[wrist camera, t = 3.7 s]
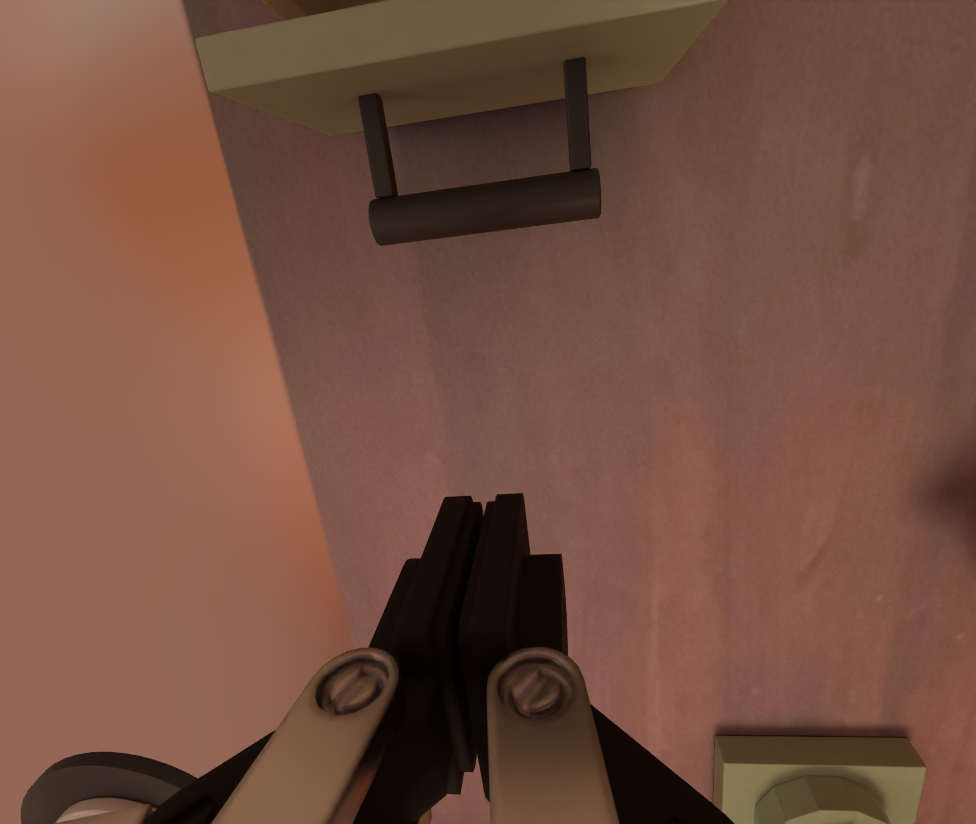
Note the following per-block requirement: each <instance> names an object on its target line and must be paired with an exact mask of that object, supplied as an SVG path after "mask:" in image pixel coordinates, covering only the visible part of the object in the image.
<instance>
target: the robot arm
mask: <svg viewBox="0 0 976 824" xmlns="http://www.w3.org/2000/svg"><path fill="white" fill-rule="evenodd" d="M477 755H478V760H479V766H480V771H481V777H482V782H483V788H484V793H485V797H486V799H487V800H488V801H489V802H490V819H491V824H734V823H733V822H732V821H731V819H730V818H729V817H728V816H727V815H726V814H724V813H723V812H722V811H721V810H720V809H718V808H717V807H716V806H715V805H713V804H712V803H711V802H710V801H709V800H707V799H706V798H705V797H704V796H702V795H701V794H700V793H699V792H697V791H696V790H695V789H694V788H693V787H691V786H690V785H689V784H688V783H686V782H685V781H684V780H683V779H682V778H680V777H679V776H678V775H677V774H675V773H674V772H673V771H672V770H671V769H669V768H668V767H667V766H666V765H664V764H663V763H662V762H661V761H660V760H658V759H657V758H656V757H655V756H653V755H652V754H651V753H650V752H649V751H647V750H646V749H645V748H644V747H642V746H641V745H640V744H639V743H638V742H636V741H635V740H634V739H633V738H631V737H630V736H629V735H628V734H627V733H625V732H624V731H623V730H622V729H620V728H619V727H618V726H617V725H616V724H614V723H613V722H612V721H611V720H609V719H608V718H607V717H606V716H605V715H603V714H602V713H601V712H600V711H598V710H597V709H596V708H595V707H593V706H592V705H591V704H590V701H589V697H588V693H587V689H586V685H585V681H584V678H583V675H582V673H581V671H580V669H579V667H578V665H577V664H576V663H575V662H574V661H573V660H572V659H571V658H570V657H569V656H568V639H567V613H566V597H565V584H564V573H563V562H562V555H561V554H541V555H530V547H529V538H528V529H527V520H526V512H525V503H524V496H523V493H517V494H498V495H497V496H496V500H495V501H491V502H487V505H486V509H485V513H484V516H483V509H482V505H481V502H473V500H472V497H471V496H456V497H445V498H444V500H443V503H442V505H441V508H440V510H439V513H438V515H437V518H436V521H435V523H434V526H433V528H432V531H431V534H430V536H429V539H428V541H427V544H426V546H425V549H424V552H423V554H422V557H421V558H414V559H408V560H407V561H406V562H405V564H404V566H403V568H402V570H401V573H400V575H399V577H398V580H397V582H396V584H395V587H394V589H393V591H392V594H391V596H390V598H389V601H388V603H387V605H386V608H385V610H384V612H383V615H382V617H381V619H380V622H379V624H378V626H377V629H376V631H375V633H374V636H373V638H372V640H371V643H370V645H369V647H368V648H358V649H354V650H351V651H347V652H345V653H343V654H340V655H338V656H336V657H334V658H333V659H331V660H330V661H329V662H327V663H326V664H325V665H323V666H322V667H321V668H320V669H319V670H318V672H317V673H316V674H315V675H314V676H313V678H312V679H311V680H310V682H309V683H308V684H307V686H306V687H305V689H304V690H303V692H302V693H301V695H300V696H299V698H298V699H297V700H296V702H295V703H294V705H293V706H292V708H291V709H290V710H289V712H288V713H287V715H286V716H285V718H284V719H283V721H282V722H281V723H280V725H279V726H278V728H277V729H276V730H275V731H273V732H271V733H270V734H268V735H267V736H265V737H264V738H262V739H260V740H259V741H257V742H256V743H254V744H252V745H251V746H249V747H248V748H246V749H244V750H243V751H241V752H240V753H238V754H237V755H235V756H233V757H232V758H230V759H229V760H227V761H226V762H224V763H222V764H221V765H219V766H218V767H216V768H214V769H213V770H211V771H210V772H208V773H206V774H205V775H203V776H202V777H200V778H199V779H197V780H195V781H194V782H192V783H191V784H189V785H187V786H186V787H184V788H183V789H181V790H179V791H178V792H177V793H175V794H174V795H173V796H171V797H170V798H169V799H167V800H166V801H165V802H163V803H162V804H161V805H160V806H159V807H158V808H156V807H153V806H150V804H145V803H142V802H137V801H133V800H129V799H123V798H114V797H101V798H92V799H88V800H84V801H80V802H78V803H76V804H74V805H72V806H70V807H69V808H68V809H67V810H66V811H65V812H64V813H63V814H62V815H61V816H60V818H59V819H58V820H57V821H56V823H53V824H430V823H431V818H432V815H431V808H432V807H433V806H434V805H435V804H436V803H438V802H439V801H440V800H441V799H442V798H443V797H445V796H446V794H461V788H462V781H463V775H464V772H473V771H474V769H475V764H476V757H477Z"/></svg>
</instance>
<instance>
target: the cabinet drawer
mask: <svg viewBox="0 0 976 824" xmlns="http://www.w3.org/2000/svg"><path fill="white" fill-rule="evenodd" d="M261 1H262V2H263V3H265V4H266V5H267V6H269V7H270V8H271V9H273V10H274V11H275V12H277V13H278V14H279V15H281V16H282V17H283V18H285V19H286V20H284V21H279V22H274V23H269V24H264V25H259V26H254V27H249V28H244V29H239V30H234V31H229V32H224V33H219V34H214V35H209V36H203V37H198V38H196V44H197V48H198V52H199V56H200V60H201V64H202V67H203V71H204V75H205V79H206V83H207V87H208V90H209V91H210V92H211V93H214V94H216V95H219V96H222V97H225V98H227V99H230V100H233V101H235V102H238V103H241V104H244V105H246V106H249V107H252V108H255V109H257V110H260V111H263V112H265V113H268V114H271V115H274V116H276V117H279V118H282V119H284V120H287V121H290V122H293V123H295V124H298V125H301V126H304V127H306V128H309V129H312V130H314V131H317V132H320V133H323V134H325V135H328V136H336V135H342V134H348V133H355V132H361V131H364V136H365V141H366V147H367V152H368V158H369V163H370V169H371V175H372V180H373V186H374V191H375V196H376V198H380V199H373V200H371V201H370V204H369V221H370V227H371V230H372V233H373V236H374V238H375V240H376V242H377V243H378V244H379V245H381V246H383V245H391V244H399V243H406V242H414V241H422V240H430V239H438V238H445V237H453V236H461V235H469V234H477V233H485V232H492V231H500V230H508V229H516V228H524V227H531V226H539V225H547V224H555V223H563V222H570V221H578V220H586V219H594V218H599V217H600V215H601V186H600V176H599V171H598V169H597V168H592V169H590V168H591V150H590V131H589V111H588V95H589V94H595V93H602V92H608V91H614V90H620V89H626V88H633V87H639V86H645V85H651V84H657V83H661V82H662V81H663V80H664V78H665V77H666V76H667V75H668V74H669V72H670V71H671V70H672V69H673V67H674V66H675V65H676V64H677V63H678V61H679V60H680V59H681V58H682V56H683V55H684V54H685V53H686V52H687V50H688V49H689V48H690V47H691V45H692V44H693V43H694V42H695V41H696V39H697V38H698V37H699V36H700V34H701V33H702V32H703V31H704V30H705V28H706V27H707V26H708V25H709V23H710V22H711V21H712V20H713V19H714V17H715V16H716V15H717V14H718V12H719V11H720V10H721V9H722V8H723V6H724V5H725V4H726V3H727V1H728V0H261ZM558 99H565V100H566V116H567V131H568V147H569V162H570V172H563V173H556V174H549V175H542V176H535V177H528V178H521V179H514V180H507V181H500V182H493V183H486V184H479V185H472V186H465V187H458V188H451V189H443V190H436V191H429V192H422V193H415V194H408V195H401V196H398V192H397V186H396V180H395V174H394V168H393V162H392V156H391V150H390V144H389V138H388V132H387V127H392V126H398V125H404V124H410V123H416V122H423V121H429V120H435V119H441V118H447V117H453V116H460V115H466V114H472V113H478V112H484V111H490V110H497V109H503V108H509V107H515V106H521V105H528V104H534V103H540V102H546V101H552V100H558Z"/></svg>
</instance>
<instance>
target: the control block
mask: <svg viewBox="0 0 976 824" xmlns="http://www.w3.org/2000/svg"><path fill="white" fill-rule="evenodd" d="M926 770H927V767H926V765H925V764H924V762H923V761H922V759H921V758H920V756H919V755H918V753H917V752H916V751H915V749H914V748H913V746H912V745H911V743H910V742H909V740H908V739H907V738H880V737H794V736H715V756H714V792H713V805H715V806H716V807H717V808H718V809H720V810H721V811H722V812H723V813H724V814H726V815H727V816H728V817H729V818H730V819H731V821H732V822H733V823H734V824H915V821H916V816H917V812H918V807H919V802H920V798H921V793H922V788H923V784H924V779H925V774H926Z"/></svg>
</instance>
